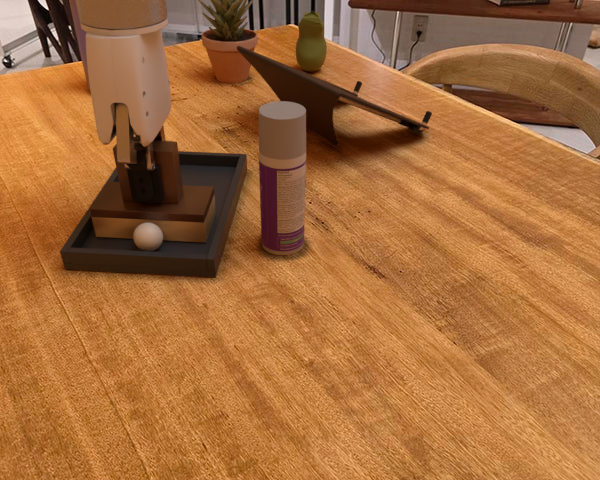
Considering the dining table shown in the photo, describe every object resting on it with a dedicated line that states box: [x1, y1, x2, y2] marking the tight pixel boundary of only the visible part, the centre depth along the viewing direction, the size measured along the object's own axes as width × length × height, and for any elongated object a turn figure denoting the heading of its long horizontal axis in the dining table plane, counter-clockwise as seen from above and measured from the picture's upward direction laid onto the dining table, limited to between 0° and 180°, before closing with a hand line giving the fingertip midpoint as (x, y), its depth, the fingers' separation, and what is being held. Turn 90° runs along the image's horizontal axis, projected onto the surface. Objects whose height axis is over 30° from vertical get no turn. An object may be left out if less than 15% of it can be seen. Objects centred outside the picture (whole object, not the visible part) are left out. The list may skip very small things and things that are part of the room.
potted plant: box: [197, 0, 259, 84], centre depth 98 cm, size 10×10×25 cm
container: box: [258, 100, 307, 256], centre depth 60 cm, size 5×5×15 cm
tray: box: [59, 150, 248, 278], centre depth 68 cm, size 16×24×2 cm, turn 176°
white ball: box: [133, 223, 163, 252], centre depth 61 cm, size 3×3×3 cm
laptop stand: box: [237, 46, 433, 147], centre depth 86 cm, size 23×23×9 cm
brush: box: [90, 140, 216, 243], centre depth 63 cm, size 12×6×10 cm, turn 86°
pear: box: [295, 10, 328, 73], centre depth 105 cm, size 6×5×10 cm
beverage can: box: [68, 0, 90, 90], centre depth 95 cm, size 6×6×15 cm
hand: (152, 192), depth 63 cm, fingers closed on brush, 2 cm apart
